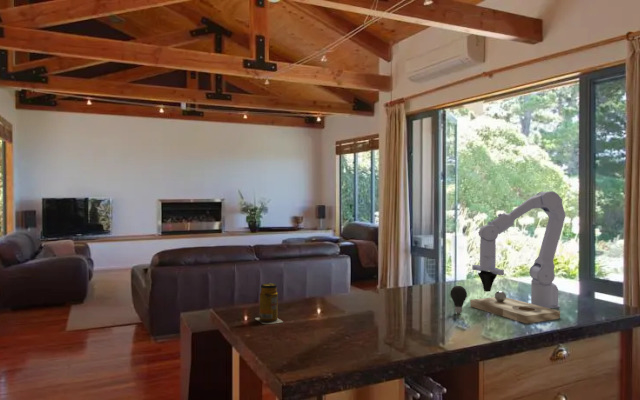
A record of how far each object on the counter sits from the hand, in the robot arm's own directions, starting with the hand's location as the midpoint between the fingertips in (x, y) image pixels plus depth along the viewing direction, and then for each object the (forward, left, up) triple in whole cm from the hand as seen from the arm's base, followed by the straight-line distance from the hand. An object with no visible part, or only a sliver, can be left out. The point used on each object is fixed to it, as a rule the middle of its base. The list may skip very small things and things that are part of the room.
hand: (487, 291), depth 178 cm
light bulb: (+20, +7, -6) cm, 22 cm away
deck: (0, +13, -5) cm, 14 cm away
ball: (0, +7, -1) cm, 7 cm away
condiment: (+85, -11, -6) cm, 86 cm away
